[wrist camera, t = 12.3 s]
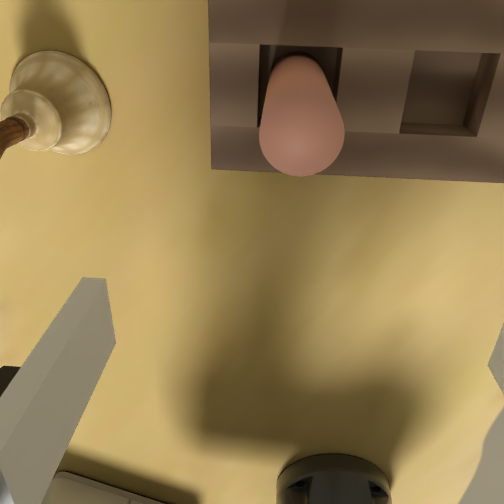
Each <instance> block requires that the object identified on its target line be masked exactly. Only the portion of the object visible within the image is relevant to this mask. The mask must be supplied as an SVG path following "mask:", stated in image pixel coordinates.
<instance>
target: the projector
mask: <svg viewBox="0 0 504 504" xmlns="http://www.w3.org/2000/svg"><path fill="white" fill-rule="evenodd" d="M41 504H164V503H161V502H158V501H155V500H152V499H149V498H146V497H143V496H139V495H136V494H133V493H130V492H127V491H124V490H121V489H118V488H115V487H112V486H109V485H105V484H102V483H99V482H96V481H93V480H90V479H87V478H84V477H81V476H78V475H75V474H71V473H68V472H58V473H57V474H56V475H55V477H54V479H52V481H51V483H50V485H49V487H48V489H47V491H46V494H45V496H44V498H43V500H42V502H41Z"/></svg>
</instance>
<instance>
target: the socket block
mask: <svg viewBox="0 0 504 504" xmlns="http://www.w3.org/2000/svg"><path fill="white" fill-rule="evenodd" d="M208 15H209V66H210V118H211V169H217V170H238V171H259V172H280V171H279V170H277V169H276V168H274V167H273V166H272V165H271V164H270V163H269V162H268V161H267V159H266V158H265V156H264V154H263V152H262V150H261V147H260V142H259V130H260V124H261V119H262V113H263V108H264V102H265V97H266V92H267V86H268V81H269V75H270V71H271V69H272V67H273V65H274V63H275V62H276V61H277V60H278V59H279V58H280V57H281V56H283V55H284V54H286V53H289V52H292V51H303V52H306V53H309V54H311V55H312V56H313V57H315V58H316V59H317V60H318V62H319V63H320V65H321V67H322V69H323V72H324V75H325V77H326V80H327V82H328V85H329V87H330V90H331V92H332V95H333V97H334V100H335V102H336V105H337V107H338V110H339V112H340V115H341V117H342V120H343V123H344V130H345V135H344V142H343V146H342V149H341V151H340V153H339V155H338V156H337V158H336V159H335V160H334V161H333V163H332V164H331V165H329V166H328V167H327V168H326V169H324V170H322V171H321V172H319V173H316V174H322V175H344V176H365V177H386V178H407V179H428V180H449V181H470V182H491V183H504V0H208ZM280 173H282V172H280Z"/></svg>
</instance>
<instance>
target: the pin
mask: <svg viewBox="0 0 504 504" xmlns="http://www.w3.org/2000/svg"><path fill="white" fill-rule="evenodd" d="M344 135H345V130H344V123H343V120H342V117H341V115H340V112H339V110H338V107H337V105H336V102H335V100H334V97H333V95H332V92H331V90H330V87H329V85H328V82H327V80H326V77H325V75H324V72H323V69H322V67H321V65H320V63H319V62H318V60H317V59H316V58H315V57H313V56H312V55H311V54H309V53H306V52H303V51H292V52H289V53H286V54H284V55H283V56H281V57H280V58H279V59H278V60H277V61H276V62H275V63H274V65H273V67H272V69H271V71H270V75H269V81H268V86H267V92H266V97H265V102H264V108H263V113H262V119H261V124H260V130H259V142H260V147H261V150H262V152H263V154H264V156H265V158H266V159H267V161H268V162H269V163H270V164H271V165H272V166H273V167H274V168H276V169H277V170H279V171H280V172H282V173H285V174H287V175H291V176H309V175H313V174H316V173H319V172H321V171H322V170H324V169H326V168H327V167H328V166H329V165H331V164H332V163H333V161H334V160H335V159H336V158H337V156H338V155H339V153H340V151H341V149H342V146H343V142H344Z"/></svg>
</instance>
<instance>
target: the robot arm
mask: <svg viewBox="0 0 504 504" xmlns="http://www.w3.org/2000/svg"><path fill="white" fill-rule="evenodd" d="M115 344H116V340H115V334H114V327H113V321H112V315H111V308H110V302H109V296H108V290H107V283H106V279H103V278H85V277H83V278H82V279H81V281H80V282H79V284H78V285H77V287H76V288H75V289H74V291H73V292H72V294H71V295H70V297H69V298H68V300H67V301H66V302H65V304H64V305H63V307H62V308H61V310H60V311H59V313H58V314H57V316H56V317H55V318H54V320H53V321H52V323H51V324H50V326H49V327H48V329H47V330H46V332H45V333H44V334H43V336H42V337H41V339H40V340H39V342H38V343H37V345H36V346H35V348H34V349H33V350H32V352H31V353H30V355H29V356H28V358H27V359H26V361H25V362H24V364H23V365H22V366H21V367H14V366H3V367H1V368H0V504H41V502H42V500H43V498H44V496H45V494H46V491H47V489H48V487H49V485H50V483H51V481H52V479H53V476H54V474H55V472H56V470H57V468H58V466H59V464H60V461H61V459H62V457H63V455H64V453H65V451H66V449H67V447H68V444H69V442H70V440H71V438H72V436H73V434H74V432H75V429H76V427H77V425H78V423H79V421H80V419H81V417H82V414H83V412H84V410H85V408H86V406H87V404H88V402H89V399H90V397H91V395H92V393H93V391H94V389H95V387H96V384H97V382H98V380H99V378H100V376H101V374H102V372H103V369H104V367H105V365H106V363H107V361H108V359H109V357H110V355H111V352H112V350H113V348H114V346H115ZM488 367H489V369H490V370H491V372H492V374H493V376H494V378H495V380H496V381H497V383H498V385H499V387H500V389H501V391H502V392H503V394H504V324H503V327H502V329H501V332H500V334H499V337H498V340H497V342H496V345H495V347H494V350H493V353H492V355H491V358H490V360H489V363H488ZM276 501H277V504H392V499H391V493H390V488H389V483H388V480H387V478H386V476H385V475H384V473H383V472H382V471H381V470H380V469H379V468H378V467H376V466H375V465H373V464H371V463H370V462H368V461H365V460H363V459H360V458H357V457H353V456H347V455H338V454H327V455H318V456H312V457H308V458H305V459H302V460H300V461H298V462H296V463H294V464H292V465H290V466H289V467H288V468H286V469H285V470H284V471H283V472H282V474H281V475H280V477H279V479H278V481H277V498H276Z"/></svg>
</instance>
